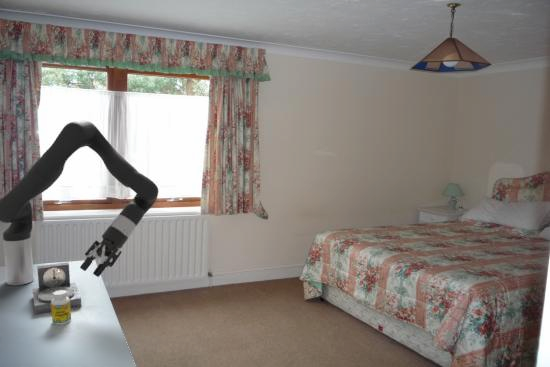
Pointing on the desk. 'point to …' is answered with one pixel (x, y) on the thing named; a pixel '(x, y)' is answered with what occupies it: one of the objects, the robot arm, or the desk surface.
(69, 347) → the desk surface
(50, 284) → the scale
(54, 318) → the supplement bottle
